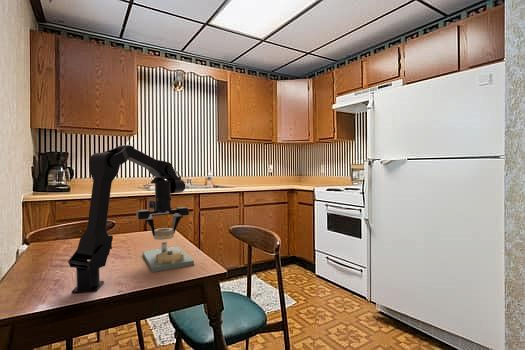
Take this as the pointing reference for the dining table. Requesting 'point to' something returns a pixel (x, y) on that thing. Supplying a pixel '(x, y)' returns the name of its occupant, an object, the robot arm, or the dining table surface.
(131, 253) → the dining table surface
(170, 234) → the beige thick ring
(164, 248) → the peg
